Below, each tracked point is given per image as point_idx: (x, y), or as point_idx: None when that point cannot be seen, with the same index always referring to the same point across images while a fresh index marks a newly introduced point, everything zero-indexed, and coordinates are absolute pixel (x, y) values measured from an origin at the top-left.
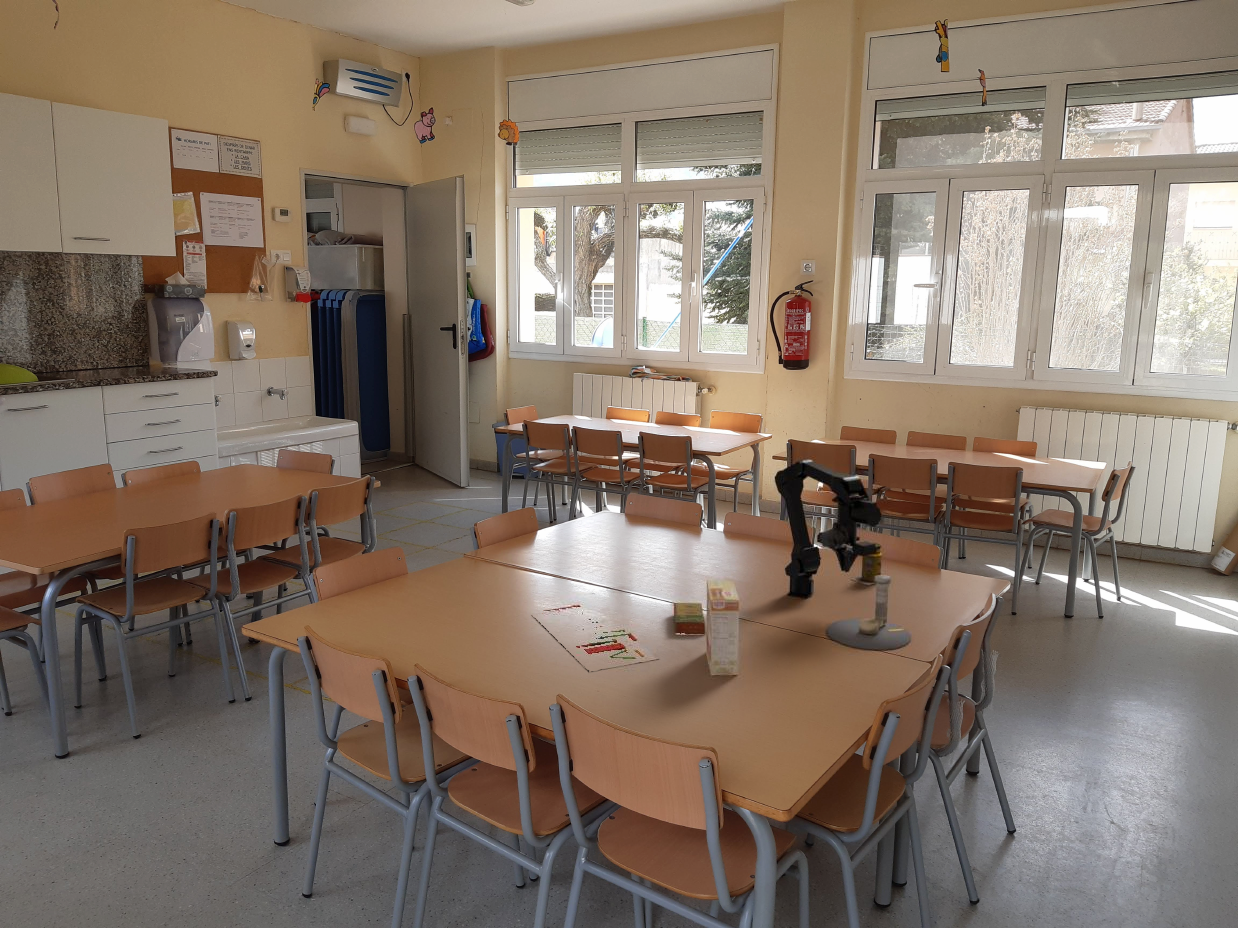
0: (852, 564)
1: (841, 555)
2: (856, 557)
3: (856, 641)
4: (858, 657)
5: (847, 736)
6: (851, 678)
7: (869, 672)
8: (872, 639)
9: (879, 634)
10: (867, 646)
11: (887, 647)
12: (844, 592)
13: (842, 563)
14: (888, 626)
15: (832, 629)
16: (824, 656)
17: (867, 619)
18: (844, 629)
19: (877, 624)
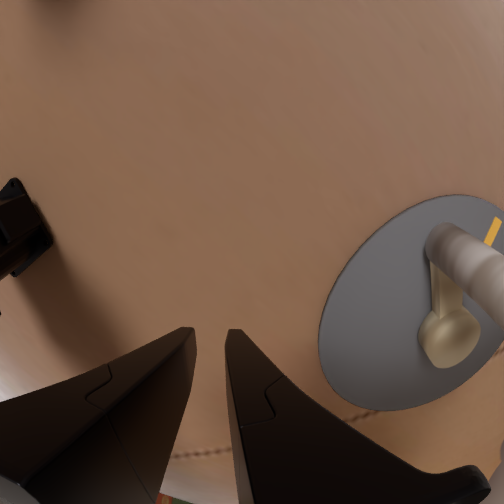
0: (269, 360)
1: (153, 483)
2: (324, 413)
3: (439, 382)
4: (462, 406)
5: (491, 471)
6: (471, 440)
7: (489, 415)
8: None
9: (467, 307)
10: (466, 376)
11: (499, 344)
12: (63, 58)
13: (180, 405)
14: None
15: (354, 388)
16: (411, 446)
17: (445, 334)
18: (379, 364)
19: (479, 333)
